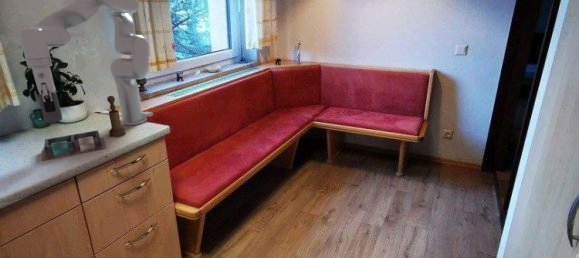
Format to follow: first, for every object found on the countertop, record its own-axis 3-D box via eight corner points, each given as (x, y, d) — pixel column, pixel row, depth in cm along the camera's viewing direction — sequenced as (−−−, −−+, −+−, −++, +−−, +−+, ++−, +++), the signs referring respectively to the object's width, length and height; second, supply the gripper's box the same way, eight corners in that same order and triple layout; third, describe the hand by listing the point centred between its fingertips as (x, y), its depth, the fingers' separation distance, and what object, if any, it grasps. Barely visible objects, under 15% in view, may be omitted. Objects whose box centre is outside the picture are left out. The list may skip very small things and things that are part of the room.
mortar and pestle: (129, 132, 158) (122, 94, 152) (119, 137, 152) (111, 98, 146) (117, 131, 160) (109, 93, 154) (106, 136, 154) (98, 97, 148)
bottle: (66, 118, 137) (57, 81, 132) (55, 123, 131) (45, 84, 126) (52, 118, 138) (43, 80, 132) (41, 122, 132) (30, 84, 127)
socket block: (103, 138, 152) (100, 126, 150) (106, 148, 141) (103, 135, 139) (43, 148, 141) (40, 136, 140) (42, 161, 130) (38, 147, 128)
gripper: (50, 64, 122) (62, 113, 128) (52, 59, 136) (62, 103, 142) (24, 66, 118) (38, 117, 124) (28, 60, 132) (40, 106, 138)
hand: (51, 109), depth 133 cm, fingers closed on bottle, 5 cm apart
